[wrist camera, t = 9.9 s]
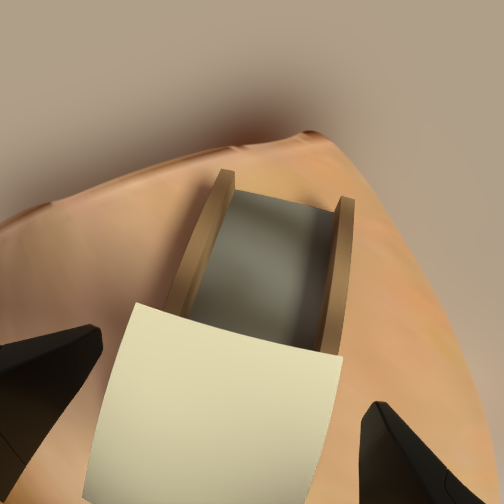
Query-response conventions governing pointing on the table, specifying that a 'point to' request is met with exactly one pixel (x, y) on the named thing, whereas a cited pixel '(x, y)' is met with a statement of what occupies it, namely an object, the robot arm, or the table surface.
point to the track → (267, 268)
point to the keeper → (209, 417)
